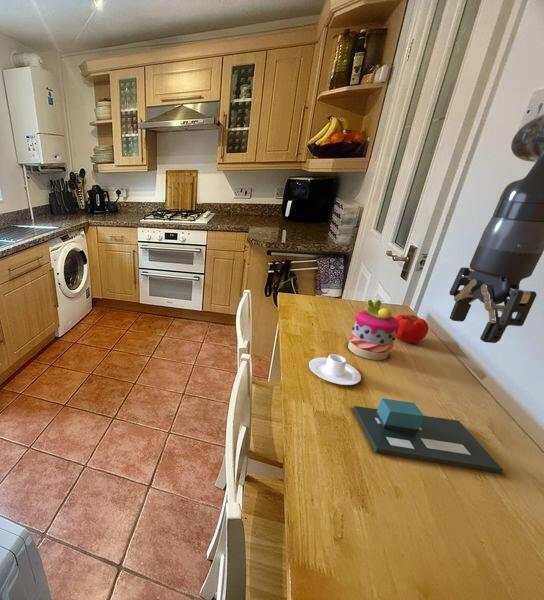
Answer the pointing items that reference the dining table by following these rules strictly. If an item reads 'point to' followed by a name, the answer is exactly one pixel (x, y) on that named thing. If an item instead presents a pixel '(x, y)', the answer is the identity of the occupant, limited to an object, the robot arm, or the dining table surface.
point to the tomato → (411, 328)
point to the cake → (373, 332)
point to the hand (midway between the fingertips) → (471, 330)
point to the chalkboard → (428, 442)
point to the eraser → (399, 415)
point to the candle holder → (335, 370)
